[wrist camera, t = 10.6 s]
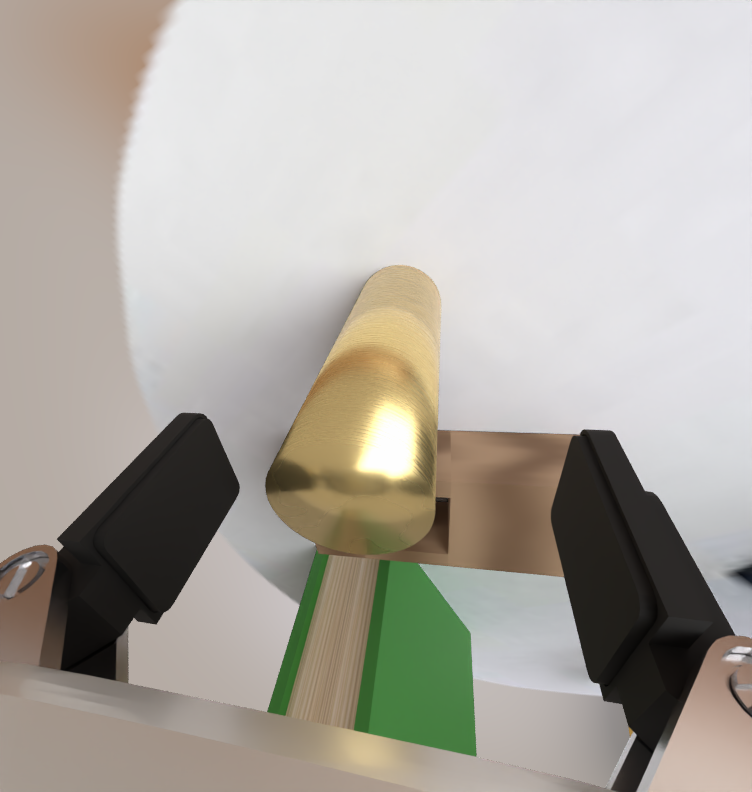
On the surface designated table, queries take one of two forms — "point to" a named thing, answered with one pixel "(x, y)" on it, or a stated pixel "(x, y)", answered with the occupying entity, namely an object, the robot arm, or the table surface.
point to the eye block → (491, 504)
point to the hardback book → (379, 656)
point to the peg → (368, 426)
